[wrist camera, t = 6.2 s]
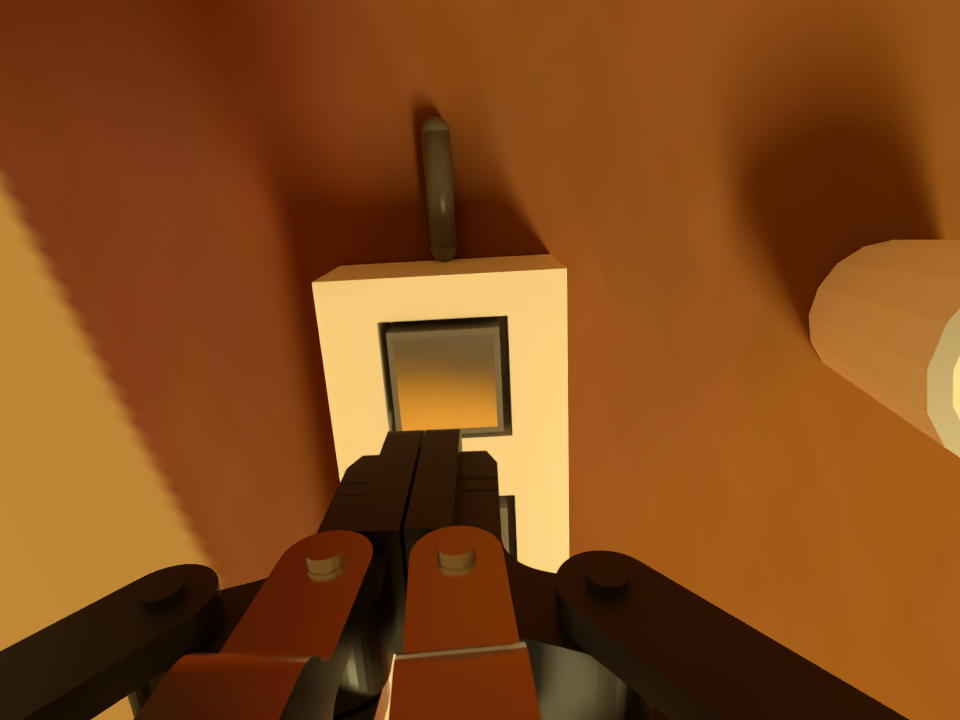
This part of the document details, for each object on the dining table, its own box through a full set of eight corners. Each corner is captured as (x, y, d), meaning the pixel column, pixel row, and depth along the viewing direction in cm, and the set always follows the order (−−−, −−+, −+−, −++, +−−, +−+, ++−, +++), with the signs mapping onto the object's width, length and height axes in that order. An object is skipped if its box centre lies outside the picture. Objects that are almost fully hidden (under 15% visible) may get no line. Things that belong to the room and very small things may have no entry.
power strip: (322, 124, 20) (287, 109, 16) (547, 111, 20) (565, 93, 16) (392, 678, 27) (379, 758, 23) (557, 669, 27) (570, 748, 23)
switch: (395, 316, 20) (385, 333, 18) (496, 311, 20) (499, 327, 18) (405, 410, 21) (396, 437, 19) (500, 405, 21) (503, 431, 19)
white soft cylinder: (859, 425, 24) (1012, 519, 17) (757, 317, 22) (879, 373, 15) (1002, 307, 22) (1231, 360, 15) (902, 183, 21) (1107, 181, 14)
